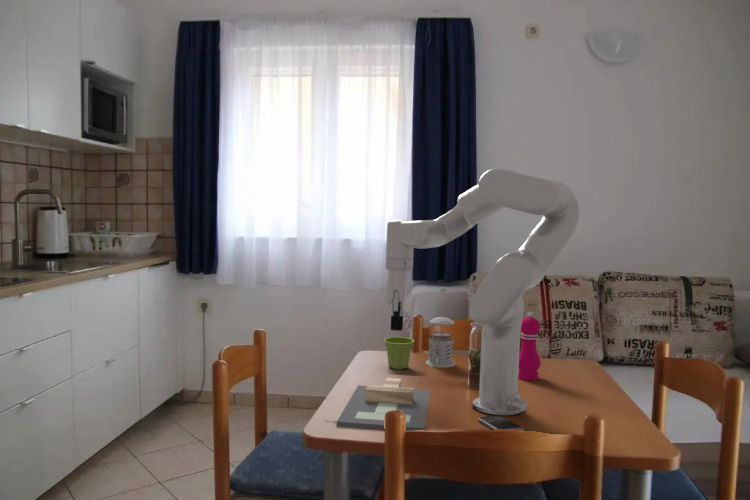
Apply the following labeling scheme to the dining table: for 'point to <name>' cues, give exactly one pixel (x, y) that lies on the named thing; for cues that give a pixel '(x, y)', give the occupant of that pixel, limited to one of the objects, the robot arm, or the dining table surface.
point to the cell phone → (499, 423)
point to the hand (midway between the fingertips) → (396, 329)
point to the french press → (440, 343)
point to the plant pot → (398, 351)
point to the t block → (389, 392)
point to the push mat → (383, 411)
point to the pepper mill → (529, 349)
